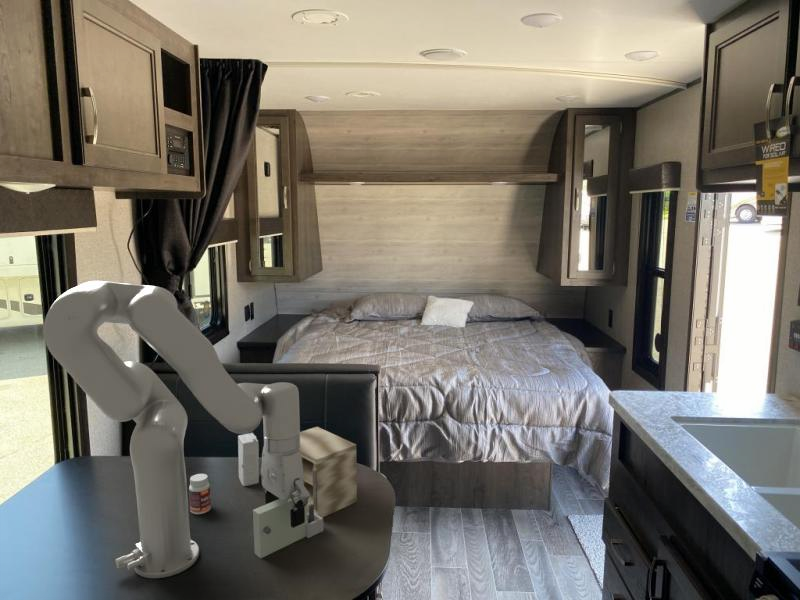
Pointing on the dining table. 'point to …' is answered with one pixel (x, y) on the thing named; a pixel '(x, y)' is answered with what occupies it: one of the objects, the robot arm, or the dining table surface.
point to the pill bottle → (199, 494)
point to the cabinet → (328, 471)
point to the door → (280, 527)
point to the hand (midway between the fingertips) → (284, 515)
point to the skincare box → (248, 459)
